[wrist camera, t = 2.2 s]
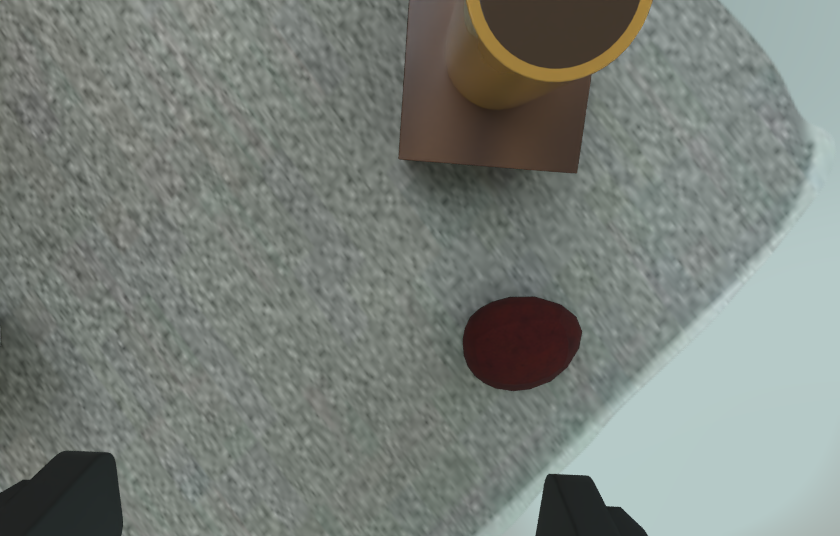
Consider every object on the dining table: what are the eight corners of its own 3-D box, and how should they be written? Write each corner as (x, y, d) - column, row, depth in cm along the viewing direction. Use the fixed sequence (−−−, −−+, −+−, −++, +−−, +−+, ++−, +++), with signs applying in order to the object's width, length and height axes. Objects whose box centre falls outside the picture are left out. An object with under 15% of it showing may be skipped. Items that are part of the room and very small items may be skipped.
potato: (460, 285, 39) (468, 309, 33) (572, 286, 39) (599, 309, 34) (457, 372, 41) (464, 409, 35) (565, 372, 41) (590, 409, 35)
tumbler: (439, 105, 27) (455, 74, 16) (449, -17, 25) (475, -142, 15) (549, 114, 27) (639, 89, 16) (565, -7, 25) (675, -123, 15)
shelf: (402, 157, 37) (398, 159, 27) (416, -52, 34) (417, -134, 24) (534, 168, 37) (577, 173, 28) (561, -38, 34) (619, -114, 24)
